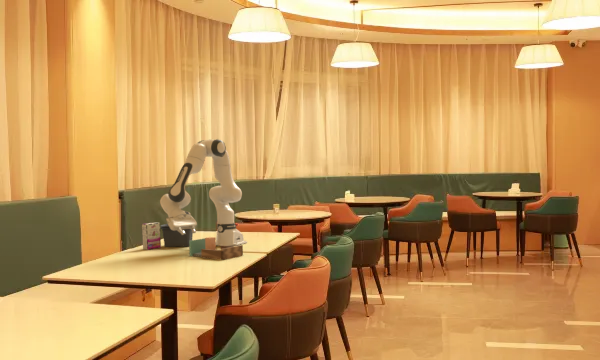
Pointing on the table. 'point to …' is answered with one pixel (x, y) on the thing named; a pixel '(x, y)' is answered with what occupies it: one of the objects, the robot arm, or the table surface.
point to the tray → (196, 247)
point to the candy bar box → (151, 236)
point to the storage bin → (176, 237)
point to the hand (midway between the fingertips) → (189, 233)
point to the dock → (223, 252)
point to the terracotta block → (210, 243)
